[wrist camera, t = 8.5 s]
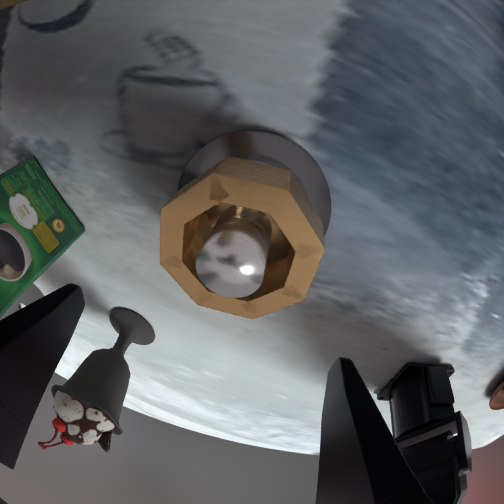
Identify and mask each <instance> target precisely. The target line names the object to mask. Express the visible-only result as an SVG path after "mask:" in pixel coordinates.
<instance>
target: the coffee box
mask: <svg viewBox="0 0 504 504" xmlns="http://www.w3.org/2000/svg"><path fill="white" fill-rule="evenodd" d="M84 231H85V229H84V228H83V226H82V225H81V224H80V223H79V221H78V220H77V218H76V216H75V214H74V213H73V212H72V210H71V209H69V208H68V206H67V205H66V204H65V202H64V201H63V200H62V198H61V197H60V195H59V194H58V192H57V191H56V189H55V188H54V187H53V185H52V184H51V182H50V181H49V179H48V177H47V175H46V174H45V172H44V171H43V169H42V168H41V167H40V165H39V164H38V162H37V161H36V159H35V157H32V158H31V159H28V160H26V161H24V162H22V163H20V164H18V165H16V166H14V167H13V168H11V169H9V170H7V171H6V172H4V173H2V174H0V318H1V316H2V315H3V314H4V313H5V312H6V311H7V310H8V309H9V308H10V306H11V305H12V304H13V303H14V302H15V301H16V300H17V299H18V298H19V297H20V296H21V294H22V293H24V291H25V290H26V289H27V288H28V287H29V286H30V285H31V284H32V283H33V282H34V281H35V280H36V279H37V278H38V277H39V276H40V275H41V274H42V273H43V272H44V271H45V270H46V269H47V268H48V267H49V266H50V265H51V264H52V263H53V262H54V261H55V260H56V259H58V258H59V257H60V256H61V255H62V254H63V253H64V252H65V251H66V250H67V249H68V248H69V247H70V245H71V244H72V243H74V241H76V239H78V237H80V236H81V235H82V234H83V233H84Z"/></svg>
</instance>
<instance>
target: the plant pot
mask: <svg viewBox="0 0 504 504" xmlns="http://www.w3.org/2000/svg"><path fill="white" fill-rule="evenodd" d="M24 1H28V0H0V9H2V8H5V7H8V6H11V5H15V4H18V3H21V2H24Z"/></svg>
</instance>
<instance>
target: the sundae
mask: <svg viewBox="0 0 504 504" xmlns="http://www.w3.org/2000/svg"><path fill="white" fill-rule="evenodd" d="M110 321H111V324H112V326H113V328H114V329H115V330H116V332H117V333H119V337H118V339H117V341H116V343H115V345H114V347H113V348H110V349H99V350H95V351H93V352H92V353H91V354H90V355H89V356H88V357H87V358H86V359H85V360H84V361H83V363H82V364H81V365H80V366H79V368H78V369H77V370H76V372H75V373H74V374H73V375H72V377H71V378H70V379H69V380H68V381H67V382H66V383H65V384H64V385H63V386H60V385H53V387H52V390H51V391H52V395H53V397H54V406H53V407H54V409H55V413H56V415H57V418H56V419H54V420H53V422H52V424H53V427H54V428H55V435H54V437H53V438H52V440H50V441H48V442H38V445H39V446H41V448H42V449H44V450H45V448H46V447H52V446H56V445H59V444H62V443H65V444H67V445H72V444H73V442H75V443H78V444H82V445H89V444H94V443H96V442H97V441H98V443H99V444H100V445H101V447H102V448H103V449H104V450H105V451H106V452H109V449H110V442H111V434H112V433H114V434H117V435H119V434H121V433H123V431H122V429H121V428H120V426H119V418H120V413H121V409H122V405H123V402H124V398H125V395H126V392H127V388H128V384H129V379H130V371H129V367H128V364H127V362H126V361H125V359H124V353H125V351H126V349H127V348H128V346H129V345H130V344H131V343H132V342H133V343H136V344H140V345H148V344H150V343H152V342H153V341H154V339H155V333H154V330H153V328H152V327H151V325H150V324H149V323H148V322H147V321H146V320H145V319H144V318H143V317H142V316H140V315H139V314H137V313H135V312H133V311H131V310H128V309H123V308H119V309H114V310H113V311H111V313H110ZM58 431H59V432H62V434H61V436H60V438H61V440H62V441H61V442H59V443H56V444H53V445H50V446H44V444H46V443H50V442H52V441H53V440H54V439H55V438H56V436H57V433H58Z"/></svg>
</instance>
